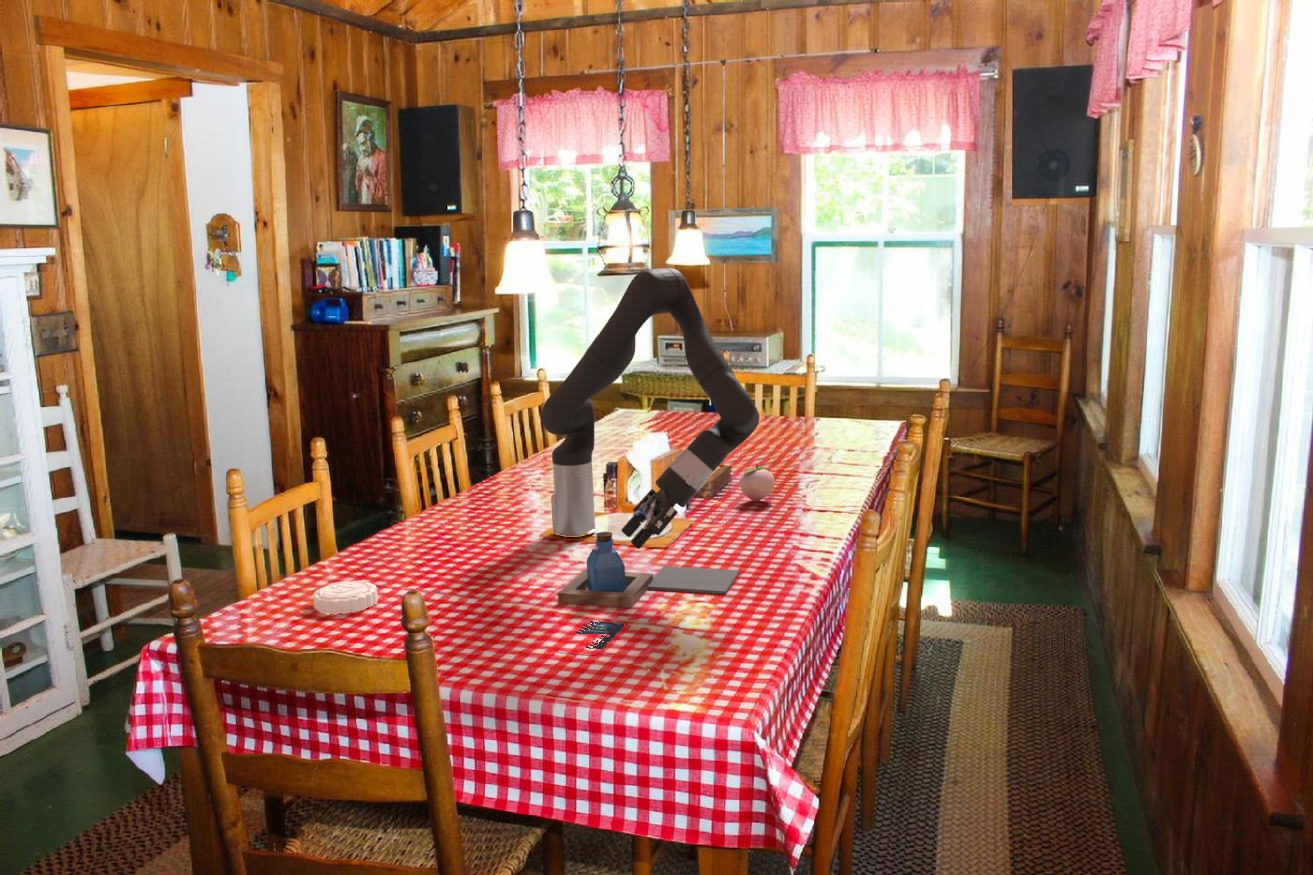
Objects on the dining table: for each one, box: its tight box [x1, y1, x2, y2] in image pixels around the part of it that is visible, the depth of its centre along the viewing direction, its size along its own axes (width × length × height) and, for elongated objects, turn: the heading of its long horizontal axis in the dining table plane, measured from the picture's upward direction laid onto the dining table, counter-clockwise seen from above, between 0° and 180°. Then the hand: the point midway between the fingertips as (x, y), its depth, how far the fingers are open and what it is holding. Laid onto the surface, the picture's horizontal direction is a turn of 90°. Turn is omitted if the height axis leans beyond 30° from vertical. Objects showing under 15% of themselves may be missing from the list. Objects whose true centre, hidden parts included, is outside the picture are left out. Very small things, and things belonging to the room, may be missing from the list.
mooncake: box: [312, 580, 379, 614], centre depth 207 cm, size 12×12×4 cm
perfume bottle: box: [586, 531, 627, 593], centre depth 208 cm, size 6×6×12 cm
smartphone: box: [575, 620, 625, 650], centre depth 186 cm, size 8×1×15 cm
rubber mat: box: [648, 565, 740, 595], centre depth 214 cm, size 16×13×1 cm
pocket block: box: [557, 569, 654, 609], centre depth 209 cm, size 15×15×2 cm
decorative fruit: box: [739, 463, 775, 503], centre depth 273 cm, size 9×8×10 cm
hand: (629, 540), depth 208 cm, fingers open, 8 cm apart
